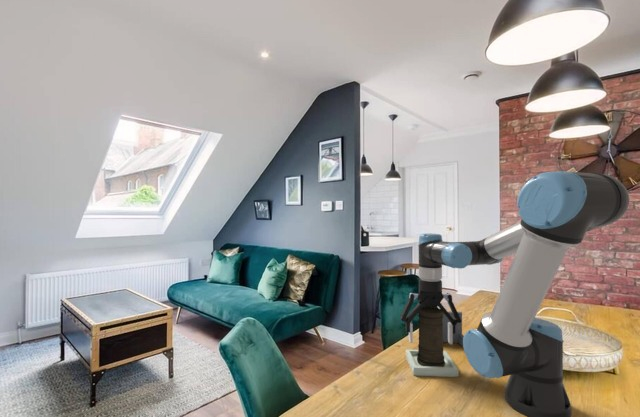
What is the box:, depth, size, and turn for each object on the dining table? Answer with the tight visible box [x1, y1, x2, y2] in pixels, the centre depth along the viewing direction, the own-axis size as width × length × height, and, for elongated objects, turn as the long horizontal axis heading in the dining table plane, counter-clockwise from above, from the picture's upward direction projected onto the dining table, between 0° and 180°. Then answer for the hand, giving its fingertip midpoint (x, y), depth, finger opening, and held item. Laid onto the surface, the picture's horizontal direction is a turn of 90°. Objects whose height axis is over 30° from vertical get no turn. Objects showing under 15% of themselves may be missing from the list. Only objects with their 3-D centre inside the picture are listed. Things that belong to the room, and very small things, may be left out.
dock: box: [442, 310, 465, 349], centre depth 128 cm, size 15×15×12 cm
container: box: [417, 306, 445, 367], centre depth 113 cm, size 9×9×18 cm
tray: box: [405, 348, 460, 378], centre depth 113 cm, size 14×14×2 cm
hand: (430, 342), depth 113 cm, fingers open, 12 cm apart
